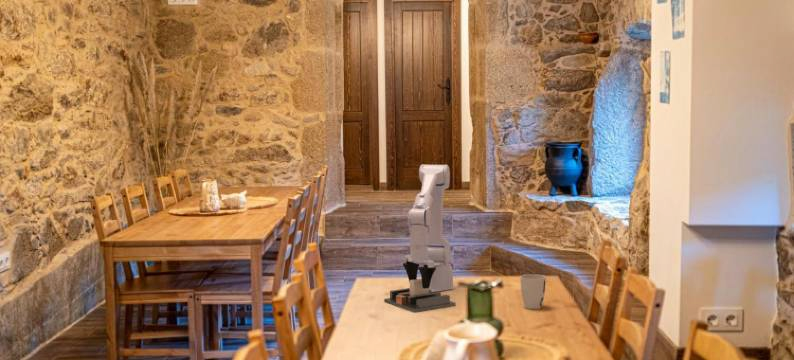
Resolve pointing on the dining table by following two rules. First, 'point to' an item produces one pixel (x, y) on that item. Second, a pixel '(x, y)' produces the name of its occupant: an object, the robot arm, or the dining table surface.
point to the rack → (418, 300)
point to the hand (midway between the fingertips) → (419, 286)
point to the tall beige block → (417, 287)
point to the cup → (533, 290)
